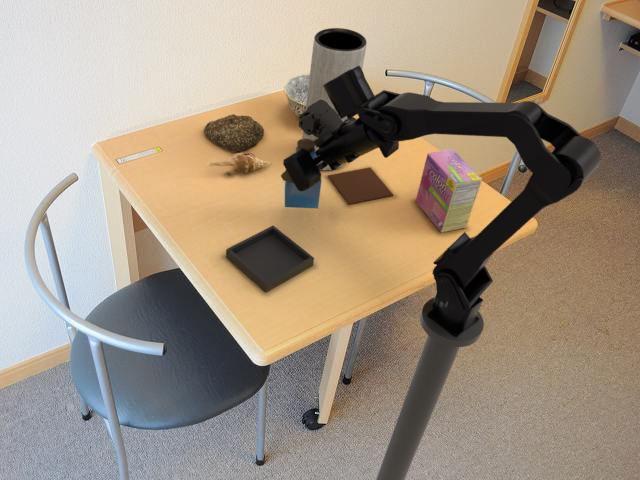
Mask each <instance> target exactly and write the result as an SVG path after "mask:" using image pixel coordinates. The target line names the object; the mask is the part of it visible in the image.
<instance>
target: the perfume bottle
mask: <svg viewBox="0 0 640 480" xmlns="http://www.w3.org/2000/svg"><path fill="white" fill-rule="evenodd" d="M296 144H297V146H296V148H295V152H297V151H298V150H300V149H302V148H303V149H305V150H307V151H309V153H310V154H311V156H312V158H313V159H314V158H316V157H317V156H316V154H315V148H314V146H315V144H314V142H313V140H311V139H302V138H300V139H298V140H297V143H296ZM319 164H320V163H318V164H317V165H319ZM321 171H322V170H320V172H321ZM321 173H322V172H321ZM321 188H322V179H321V180H320V181H319V182H317V183H316V184H315V185H313V186H312V187H310V188H309V189H307V190H304V191H302V192H301V191H299V190H298V189H297V187H296V186H295V184H294V183H291V182H287V181H284V208H296V209H319V205H320V197H321Z"/></svg>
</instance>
